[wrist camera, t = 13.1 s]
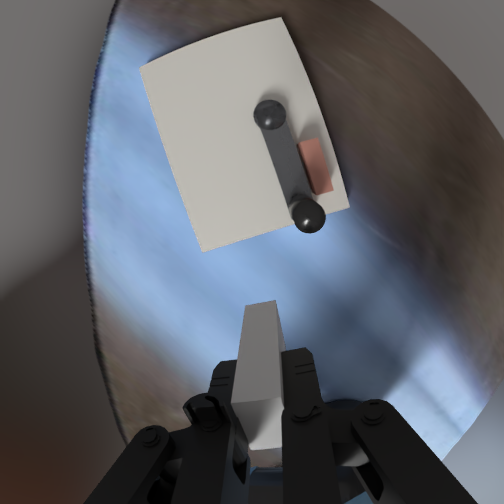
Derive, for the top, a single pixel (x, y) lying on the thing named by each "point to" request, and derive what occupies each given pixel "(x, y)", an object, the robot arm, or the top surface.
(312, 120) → the board
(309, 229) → the swing bar
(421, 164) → the top surface
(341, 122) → the top surface
